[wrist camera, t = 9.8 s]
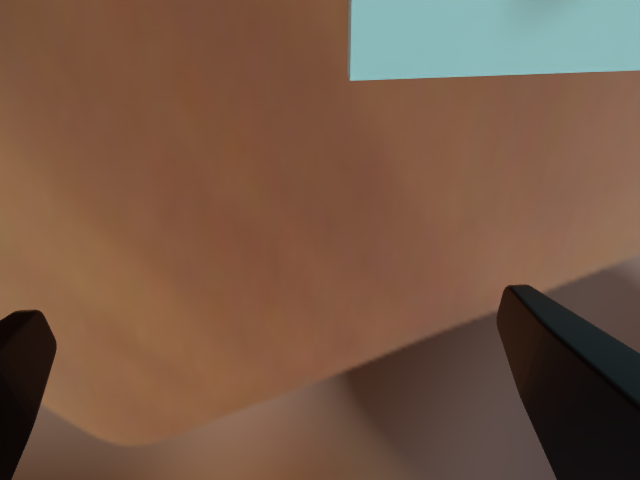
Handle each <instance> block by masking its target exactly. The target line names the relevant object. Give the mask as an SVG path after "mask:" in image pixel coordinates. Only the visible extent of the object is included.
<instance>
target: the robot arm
mask: <svg viewBox="0 0 640 480" xmlns="http://www.w3.org/2000/svg"><path fill="white" fill-rule="evenodd" d="M497 327H498V331H499V334H500V337H501V340H502V343H503V346H504V350H505V352H506V356H507V359H508V362H509V365H510V368H511V371H512V374H513V378H514V381H515V384H516V387H517V390H518V392H519V395H520V398H521V400H522V403H523V405H524V407H525V409H526V412H527V414H528V416H529V419H530V421H531V423H532V425H533V428H534V430H535V432H536V434H537V437H538V439H539V441H540V443H541V446H542V448H543V450H544V452H545V454H546V457H547V459H548V461H549V463H550V466H551V468H552V470H553V472H554V475H555V477H556V479H557V480H640V353H638V352H637V351H635V350H634V349H632V348H630V347H629V346H627V345H625V344H624V343H622V342H621V341H619V340H617V339H616V338H614V337H612V336H611V335H609V334H608V333H606V332H604V331H603V330H601V329H599V328H598V327H596V326H595V325H593V324H591V323H590V322H588V321H586V320H585V319H583V318H582V317H580V316H578V315H577V314H575V313H573V312H572V311H570V310H569V309H567V308H565V307H563V306H562V305H560V304H559V303H557V302H555V301H554V300H552V299H550V298H549V297H547V296H546V295H544V294H542V293H541V292H539V291H538V290H536V289H534V288H533V287H531V286H529V285H509V286H507V287H506V288H505V289H504V291H503V295H502V298H501V302H500V306H499V309H498V313H497ZM55 354H56V340H55V337H54V335H53V333H52V331H51V329H50V327H49V325H48V323H47V321H46V318H45V316H44V315H43V313H42V312H41V311H39V310H19V311H15V312H13V313H11V314H10V315H8V316H7V317H5V318H3V319H2V320H0V480H12V477H13V475H14V472H15V470H16V468H17V465H18V463H19V460H20V458H21V456H22V453H23V451H24V449H25V446H26V444H27V441H28V439H29V436H30V434H31V431H32V428H33V426H34V423H35V420H36V417H37V414H38V411H39V408H40V404H41V401H42V398H43V394H44V391H45V387H46V384H47V381H48V377H49V374H50V371H51V367H52V364H53V360H54V357H55Z"/></svg>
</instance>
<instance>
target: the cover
mask: <svg viewBox="0 0 640 480" xmlns="http://www.w3.org/2000/svg"><path fill="white" fill-rule="evenodd" d="M632 70H640V0H349V6H348V77H349V79H350V81H354V80H382V79H409V78H437V77H465V76H493V75H521V74H549V73H576V72H604V71H632Z"/></svg>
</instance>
